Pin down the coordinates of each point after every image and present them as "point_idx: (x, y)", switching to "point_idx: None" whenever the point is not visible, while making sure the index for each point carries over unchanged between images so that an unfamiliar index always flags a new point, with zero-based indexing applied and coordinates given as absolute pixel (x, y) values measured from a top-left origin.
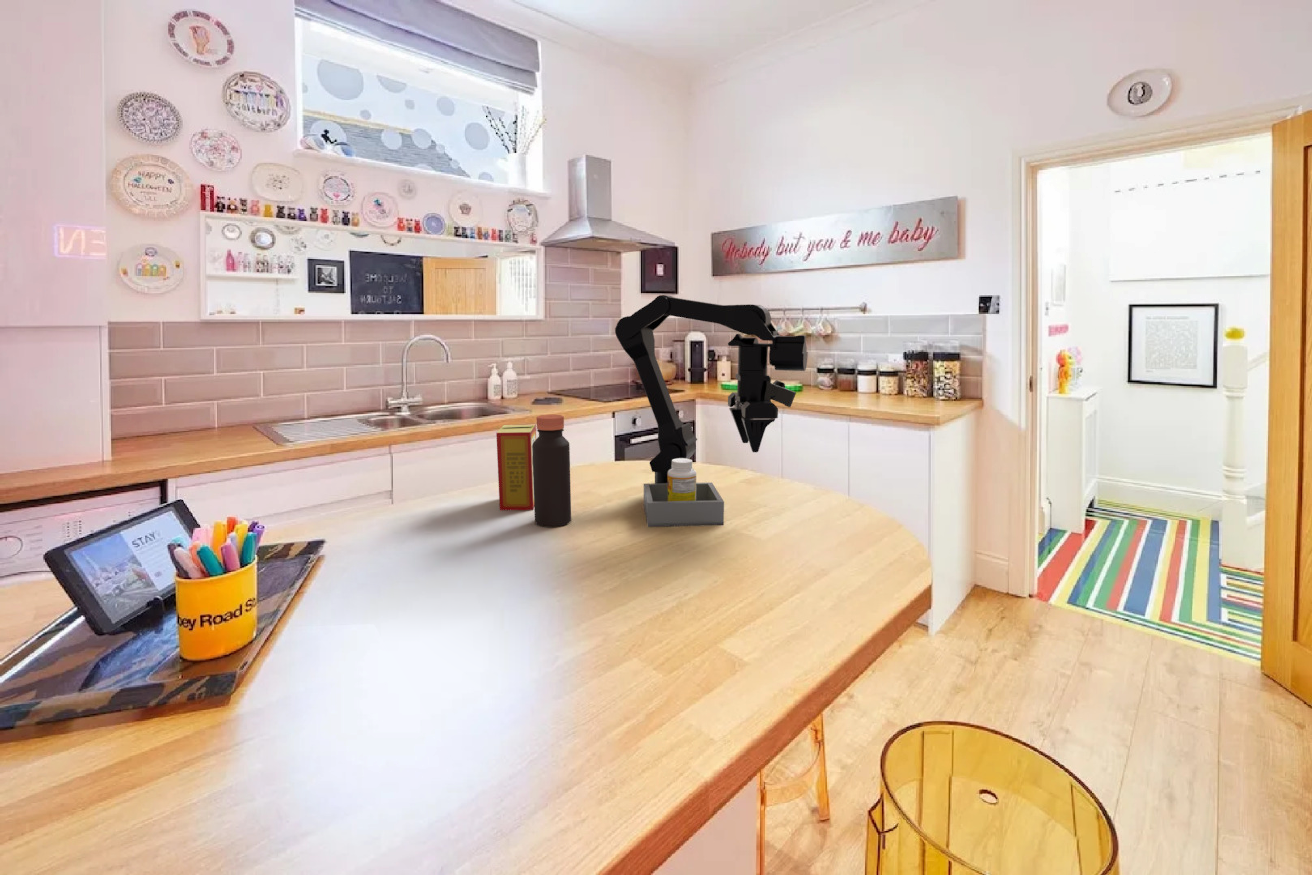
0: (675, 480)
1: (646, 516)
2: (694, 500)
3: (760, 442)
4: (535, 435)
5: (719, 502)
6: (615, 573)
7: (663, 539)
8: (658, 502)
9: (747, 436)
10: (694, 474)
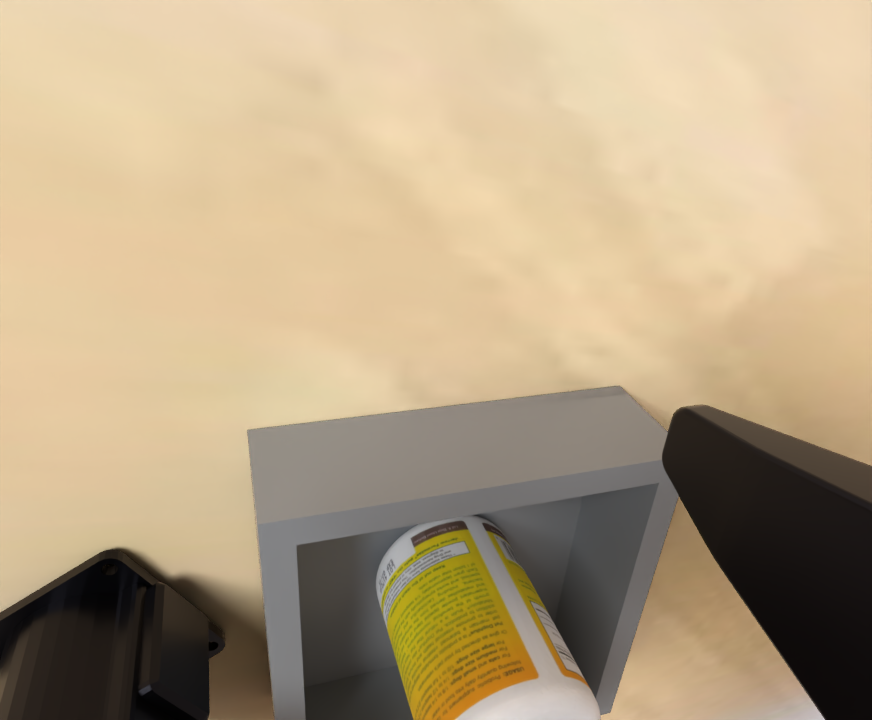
0: None
1: None
2: (510, 560)
3: (855, 467)
4: None
5: None
6: None
7: (689, 568)
8: (611, 685)
9: (824, 691)
10: (579, 689)
